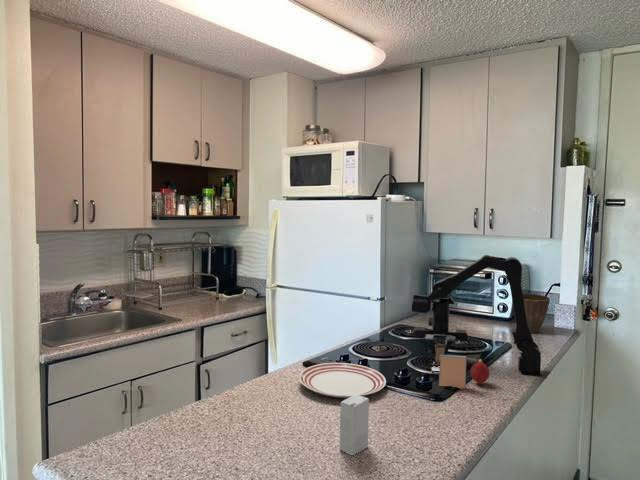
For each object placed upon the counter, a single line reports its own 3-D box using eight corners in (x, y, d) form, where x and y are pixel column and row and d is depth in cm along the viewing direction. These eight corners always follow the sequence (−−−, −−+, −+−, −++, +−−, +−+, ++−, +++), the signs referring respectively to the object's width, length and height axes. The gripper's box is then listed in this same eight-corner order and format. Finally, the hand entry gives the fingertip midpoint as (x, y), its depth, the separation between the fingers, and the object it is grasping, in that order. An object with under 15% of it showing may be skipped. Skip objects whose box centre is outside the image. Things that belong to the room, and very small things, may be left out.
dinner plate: (396, 379, 158) (396, 369, 158) (369, 412, 134) (369, 400, 133) (320, 366, 170) (321, 357, 170) (282, 394, 145) (282, 383, 145)
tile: (438, 385, 153) (439, 354, 153) (464, 387, 152) (466, 356, 151) (439, 387, 151) (440, 356, 151) (465, 389, 150) (466, 358, 149)
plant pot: (550, 330, 221) (552, 296, 220) (545, 337, 208) (547, 301, 207) (515, 325, 229) (517, 292, 228) (509, 332, 216) (510, 297, 215)
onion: (490, 388, 151) (491, 363, 150) (471, 386, 152) (472, 362, 151) (487, 381, 157) (488, 357, 156) (469, 380, 158) (470, 356, 157)
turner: (431, 359, 179) (431, 343, 178) (447, 360, 177) (448, 344, 177) (431, 373, 164) (432, 355, 164) (449, 374, 163) (450, 357, 162)
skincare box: (353, 441, 117) (354, 393, 116) (369, 447, 114) (370, 398, 113) (338, 451, 112) (338, 400, 111) (353, 458, 109) (354, 406, 108)
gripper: (465, 311, 180) (464, 352, 181) (415, 308, 184) (414, 348, 185) (468, 318, 169) (467, 361, 171) (414, 315, 173) (413, 357, 174)
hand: (439, 357), depth 175 cm, fingers closed on turner, 3 cm apart
